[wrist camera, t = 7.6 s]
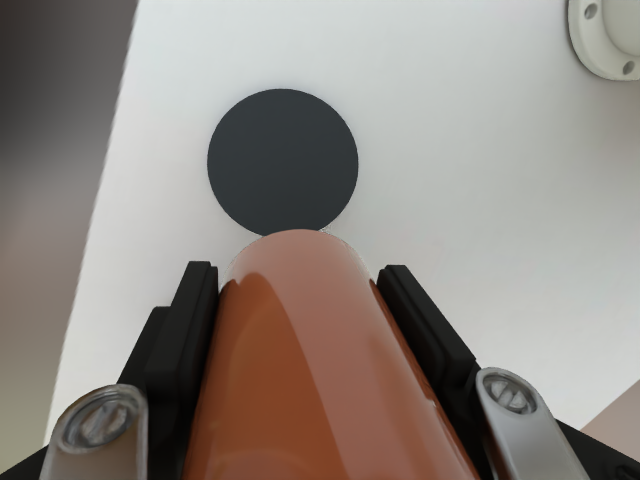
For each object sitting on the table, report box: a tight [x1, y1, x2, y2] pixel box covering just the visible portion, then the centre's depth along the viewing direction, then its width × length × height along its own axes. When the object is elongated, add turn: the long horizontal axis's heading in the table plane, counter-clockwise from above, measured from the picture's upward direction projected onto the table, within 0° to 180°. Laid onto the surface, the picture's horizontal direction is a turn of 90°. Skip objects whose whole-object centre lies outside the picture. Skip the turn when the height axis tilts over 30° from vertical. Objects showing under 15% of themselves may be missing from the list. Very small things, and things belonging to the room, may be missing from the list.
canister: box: [179, 229, 482, 480], centre depth 7 cm, size 5×5×7 cm
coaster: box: [207, 89, 358, 236], centre depth 24 cm, size 11×11×1 cm
